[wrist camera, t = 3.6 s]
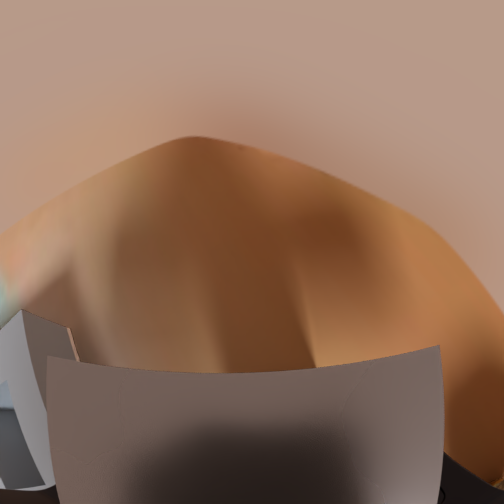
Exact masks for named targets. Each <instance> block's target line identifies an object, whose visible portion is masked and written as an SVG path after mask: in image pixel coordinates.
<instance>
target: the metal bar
mask: <svg viewBox="0 0 504 504" xmlns="http://www.w3.org/2000/svg"><path fill="white" fill-rule="evenodd" d="M46 403H47V424H48V436H49V446H50V454H51V461H52V467H53V473H54V478H55V483H56V488H57V492H58V497H59V501H60V504H437V501H438V495H439V489H440V481H441V473H442V463H443V450H444V389H443V374H442V363H441V354H440V346H439V345H437V346H433V347H429V348H426V349H421V350H417V351H413V352H409V353H404V354H400V355H395V356H390V357H385V358H380V359H374V360H369V361H363V362H357V363H350V364H343V365H336V366H328V367H320V368H311V369H301V370H289V371H275V372H255V373H183V372H164V371H150V370H139V369H129V368H120V367H112V366H104V365H97V364H91V363H85V362H79V361H73V360H68V359H63V358H58V357H53V356H48V355H47V376H46Z"/></svg>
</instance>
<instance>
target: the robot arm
mask: <svg viewBox="0 0 504 504" xmlns="http://www.w3.org/2000/svg"><path fill="white" fill-rule="evenodd" d="M0 504H60V501H59V497H58V492H57V488H56V484H55V485H53V486H51V487H49V488H46V489H42V490H36V491H31V490H12V489H1V488H0ZM437 504H504V490H502V489H499V488H496V487H494V486H492V485H490V484H489V483H487V482H485V481H484V480H482V479H481V478H479V477H478V476H476V475H474V474H473V473H471V472H470V471H468V470H467V469H465V468H464V467H462V466H461V465H460V464H458V463H457V462H456V461H454V460H453V459H452V458H451V457H449V456H448V455H447V454H446V453H445V452H443V463H442V473H441V481H440V489H439V495H438V501H437Z"/></svg>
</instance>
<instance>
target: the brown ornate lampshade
mask: <svg viewBox="0 0 504 504" xmlns="http://www.w3.org/2000/svg"><path fill="white" fill-rule="evenodd" d="M489 484H490V485H492V486H494V487H496V488H499V489H502V490H504V479H497V480H494V481H492V482H490V483H489Z"/></svg>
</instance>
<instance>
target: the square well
mask: <svg viewBox="0 0 504 504" xmlns="http://www.w3.org/2000/svg"><path fill="white" fill-rule="evenodd" d="M47 355H48V356H53V357H58V358H63V359H68V360H73V361H79V362H80V359H79V356H78V353H77V350H76V347H75V344H74V341H73V337H72V334H71V330H70V328H67V327H64V326H62V325H59V324H56V323H54V322H51V321H49V320H46V319H44V318H41V317H39V316H36V315H34V314H32V313H29V312H27V311H25V310H23V309H21V310H20V311H19V312H18V313H17V314H16V315H15V316H14V317H13V318H12V319H11V320H10V321H9V322H8V323H7V324H6V325H5V326H4V327H3V328H2V329H1V330H0V488H1V489H12V490H31V491H36V490H42V489H46V488H49V487H51V486H53V485H55V484H56V483H55V478H54V473H53V467H52V461H51V454H50V446H49V436H48V424H47V403H46V376H47Z"/></svg>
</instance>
